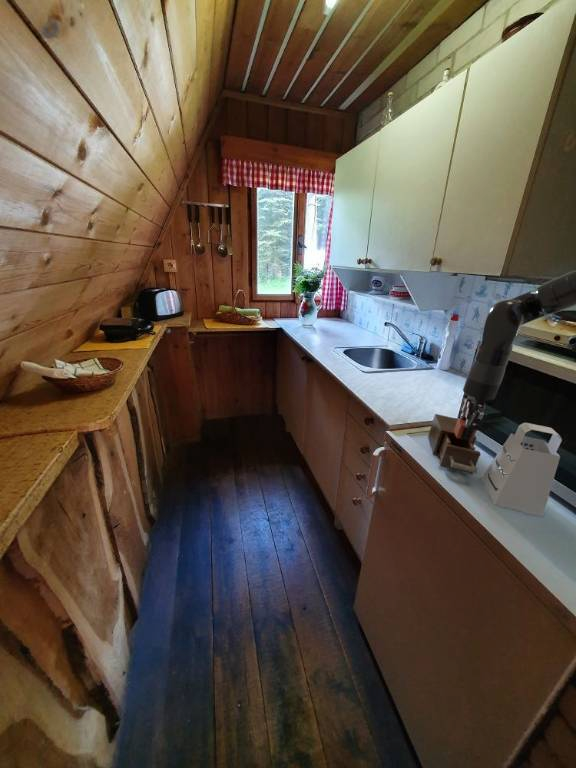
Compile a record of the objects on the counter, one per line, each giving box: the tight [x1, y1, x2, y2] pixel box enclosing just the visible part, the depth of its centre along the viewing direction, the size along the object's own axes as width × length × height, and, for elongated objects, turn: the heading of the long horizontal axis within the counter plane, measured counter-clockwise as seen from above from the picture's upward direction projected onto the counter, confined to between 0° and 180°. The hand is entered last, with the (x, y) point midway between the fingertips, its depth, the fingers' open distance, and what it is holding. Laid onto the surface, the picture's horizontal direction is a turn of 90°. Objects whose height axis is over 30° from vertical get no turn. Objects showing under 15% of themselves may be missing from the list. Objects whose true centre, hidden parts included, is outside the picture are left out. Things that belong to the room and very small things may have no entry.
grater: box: [481, 422, 563, 518], centre depth 75 cm, size 10×10×20 cm
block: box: [454, 418, 477, 441], centre depth 85 cm, size 4×4×4 cm
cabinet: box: [427, 413, 477, 457], centre depth 96 cm, size 12×10×9 cm
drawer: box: [438, 433, 481, 475], centre depth 87 cm, size 15×8×7 cm, turn 163°
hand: (463, 435), depth 86 cm, fingers closed on block, 4 cm apart
